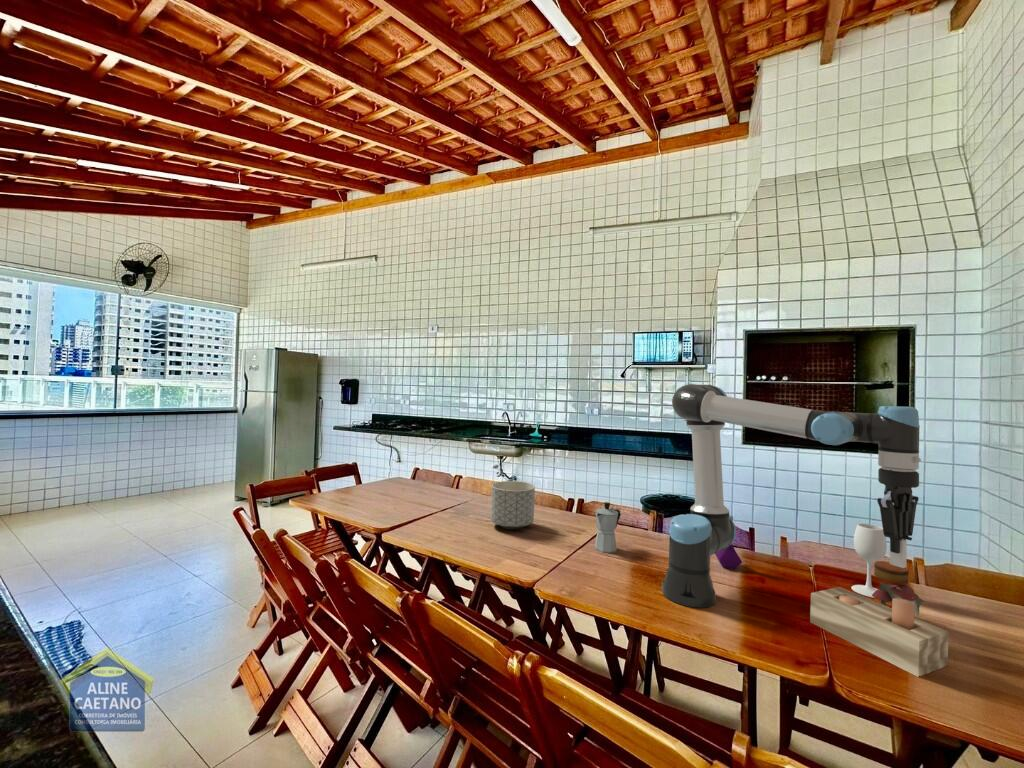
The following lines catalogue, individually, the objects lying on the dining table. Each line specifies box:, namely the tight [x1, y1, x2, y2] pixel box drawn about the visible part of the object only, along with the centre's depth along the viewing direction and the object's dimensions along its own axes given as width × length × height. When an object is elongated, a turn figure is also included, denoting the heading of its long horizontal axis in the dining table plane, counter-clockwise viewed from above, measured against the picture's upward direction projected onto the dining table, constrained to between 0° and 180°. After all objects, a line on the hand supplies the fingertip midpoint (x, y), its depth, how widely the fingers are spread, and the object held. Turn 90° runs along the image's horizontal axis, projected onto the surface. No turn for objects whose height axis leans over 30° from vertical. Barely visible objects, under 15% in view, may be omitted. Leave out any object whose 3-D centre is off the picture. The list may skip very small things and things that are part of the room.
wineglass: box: [851, 522, 888, 599], centre depth 140 cm, size 9×9×21 cm
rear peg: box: [839, 595, 858, 606], centre depth 117 cm, size 4×4×7 cm
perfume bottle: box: [714, 515, 743, 570], centre depth 157 cm, size 8×8×18 cm
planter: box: [490, 480, 536, 530], centre depth 194 cm, size 19×19×18 cm
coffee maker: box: [594, 501, 622, 554], centre depth 171 cm, size 15×9×18 cm, turn 131°
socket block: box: [809, 586, 949, 678], centre depth 111 cm, size 12×24×8 cm, turn 22°
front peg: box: [891, 598, 915, 630], centre depth 106 cm, size 4×4×7 cm
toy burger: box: [872, 560, 925, 619], centre depth 123 cm, size 12×13×15 cm
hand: (898, 565), depth 107 cm, fingers closed
